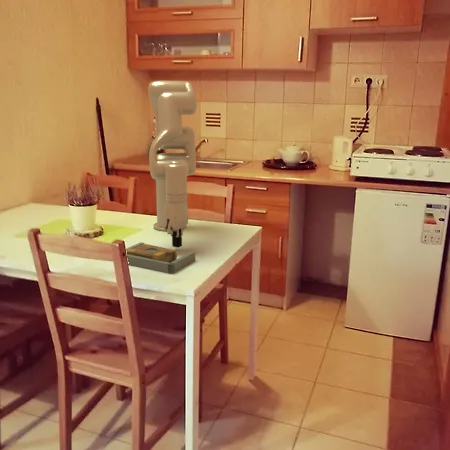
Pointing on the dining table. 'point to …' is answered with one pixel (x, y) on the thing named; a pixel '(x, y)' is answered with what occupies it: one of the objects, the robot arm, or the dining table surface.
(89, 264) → the dining table surface
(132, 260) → the tray
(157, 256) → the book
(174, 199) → the robot arm
